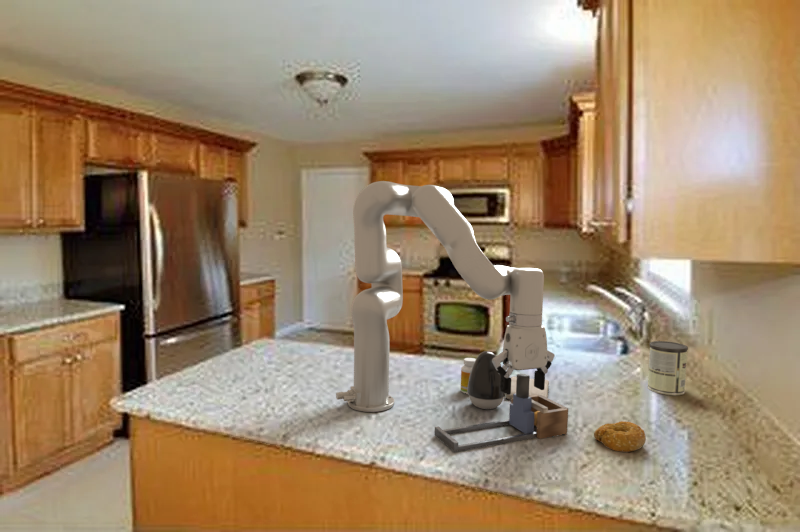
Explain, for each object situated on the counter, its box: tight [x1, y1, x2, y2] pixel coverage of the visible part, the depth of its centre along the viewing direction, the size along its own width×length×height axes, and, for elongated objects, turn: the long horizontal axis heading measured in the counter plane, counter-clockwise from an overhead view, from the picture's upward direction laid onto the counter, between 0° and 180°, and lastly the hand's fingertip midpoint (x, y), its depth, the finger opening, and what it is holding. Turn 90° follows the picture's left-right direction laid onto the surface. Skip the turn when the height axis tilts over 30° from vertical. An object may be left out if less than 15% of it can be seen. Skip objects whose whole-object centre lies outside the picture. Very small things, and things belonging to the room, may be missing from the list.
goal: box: [510, 393, 569, 440], centre depth 124 cm, size 9×11×7 cm
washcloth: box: [505, 375, 550, 400], centre depth 151 cm, size 12×18×3 cm, turn 163°
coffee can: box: [647, 340, 689, 396], centre depth 155 cm, size 10×10×14 cm
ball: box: [534, 411, 540, 428], centre depth 125 cm, size 4×4×4 cm
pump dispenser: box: [467, 350, 506, 410], centre depth 138 cm, size 10×10×15 cm
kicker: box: [508, 373, 535, 434], centre depth 122 cm, size 3×7×13 cm, turn 23°
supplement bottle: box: [460, 357, 476, 395], centre depth 150 cm, size 5×5×10 cm
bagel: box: [593, 420, 647, 453], centre depth 116 cm, size 10×11×5 cm
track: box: [434, 418, 537, 453], centre depth 119 cm, size 22×9×2 cm, turn 113°
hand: (522, 390), depth 122 cm, fingers open, 9 cm apart
